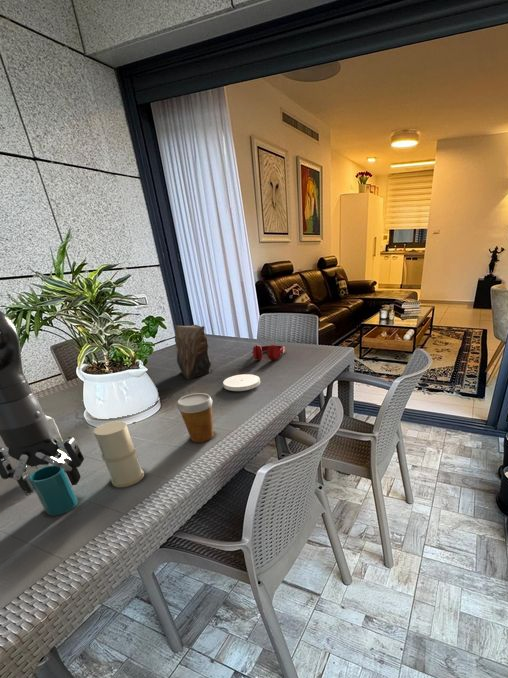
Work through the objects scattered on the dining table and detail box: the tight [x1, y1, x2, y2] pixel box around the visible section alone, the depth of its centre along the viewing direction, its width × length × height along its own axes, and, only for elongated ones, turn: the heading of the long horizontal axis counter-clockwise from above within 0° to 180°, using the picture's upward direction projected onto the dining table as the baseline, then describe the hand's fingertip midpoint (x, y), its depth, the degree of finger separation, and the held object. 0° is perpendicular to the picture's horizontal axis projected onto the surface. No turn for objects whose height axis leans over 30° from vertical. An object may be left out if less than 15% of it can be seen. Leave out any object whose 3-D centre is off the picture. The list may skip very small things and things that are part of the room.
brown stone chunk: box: [174, 324, 212, 380], centre depth 149 cm, size 13×13×20 cm
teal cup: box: [29, 465, 79, 517], centre depth 75 cm, size 6×6×9 cm
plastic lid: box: [222, 373, 261, 392], centre depth 136 cm, size 14×14×2 cm
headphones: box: [251, 344, 286, 361], centre depth 171 cm, size 15×7×20 cm
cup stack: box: [93, 420, 145, 488], centre depth 82 cm, size 7×7×14 cm
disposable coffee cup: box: [176, 392, 214, 443], centre depth 100 cm, size 10×10×12 cm
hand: (53, 486), depth 75 cm, fingers open, 8 cm apart
